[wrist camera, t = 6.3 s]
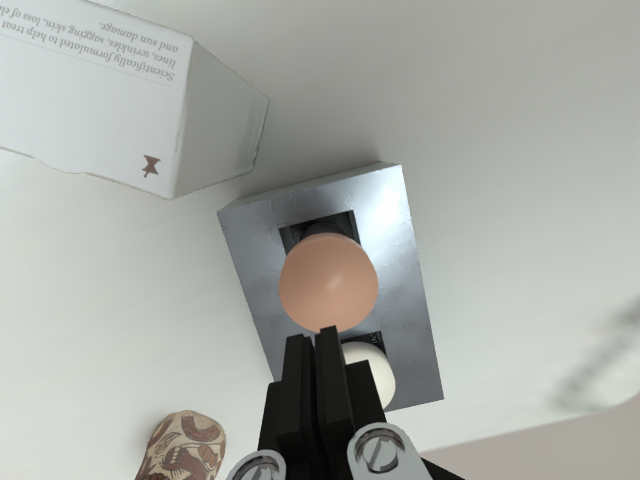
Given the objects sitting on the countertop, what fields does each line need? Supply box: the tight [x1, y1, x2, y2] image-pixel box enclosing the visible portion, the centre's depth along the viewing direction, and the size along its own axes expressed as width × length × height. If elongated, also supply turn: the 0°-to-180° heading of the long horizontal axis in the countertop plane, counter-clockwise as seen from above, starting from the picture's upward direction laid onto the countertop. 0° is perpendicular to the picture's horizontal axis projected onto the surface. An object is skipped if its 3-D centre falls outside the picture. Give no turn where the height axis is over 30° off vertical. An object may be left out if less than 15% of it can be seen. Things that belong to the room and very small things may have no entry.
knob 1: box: [279, 222, 378, 333], centre depth 20 cm, size 5×5×8 cm
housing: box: [217, 162, 444, 412], centre depth 26 cm, size 12×18×6 cm, turn 14°
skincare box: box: [0, 0, 269, 200], centre depth 18 cm, size 8×6×15 cm
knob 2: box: [340, 333, 395, 409], centre depth 26 cm, size 5×5×8 cm
